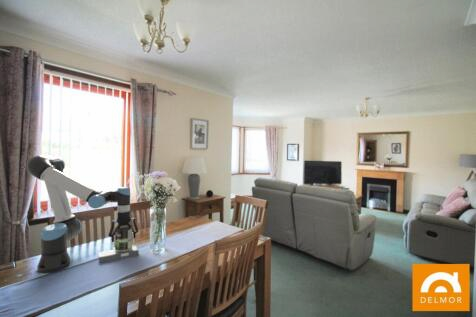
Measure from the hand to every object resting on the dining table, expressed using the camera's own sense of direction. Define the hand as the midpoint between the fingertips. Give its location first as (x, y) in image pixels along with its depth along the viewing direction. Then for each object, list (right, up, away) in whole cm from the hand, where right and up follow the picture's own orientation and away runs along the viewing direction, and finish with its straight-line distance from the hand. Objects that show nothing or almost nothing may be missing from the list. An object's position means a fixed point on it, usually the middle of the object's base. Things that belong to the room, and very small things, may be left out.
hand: (123, 245), depth 154 cm
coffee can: (0, -2, 0) cm, 2 cm away
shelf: (-2, -6, -2) cm, 6 cm away
